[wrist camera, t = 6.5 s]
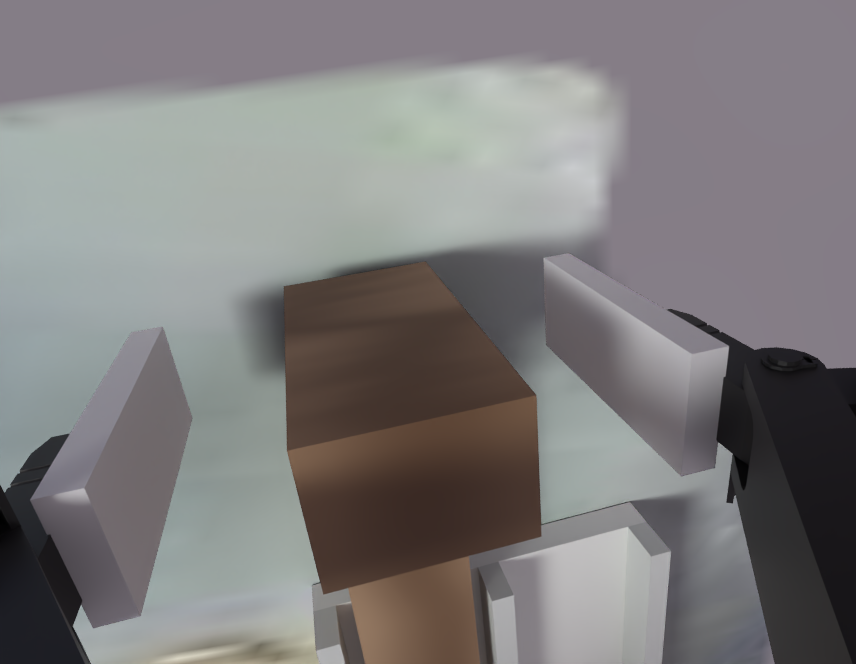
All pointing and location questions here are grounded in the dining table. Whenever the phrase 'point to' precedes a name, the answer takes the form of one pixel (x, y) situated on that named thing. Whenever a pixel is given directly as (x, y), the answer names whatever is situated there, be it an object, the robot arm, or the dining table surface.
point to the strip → (405, 454)
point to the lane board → (549, 597)
